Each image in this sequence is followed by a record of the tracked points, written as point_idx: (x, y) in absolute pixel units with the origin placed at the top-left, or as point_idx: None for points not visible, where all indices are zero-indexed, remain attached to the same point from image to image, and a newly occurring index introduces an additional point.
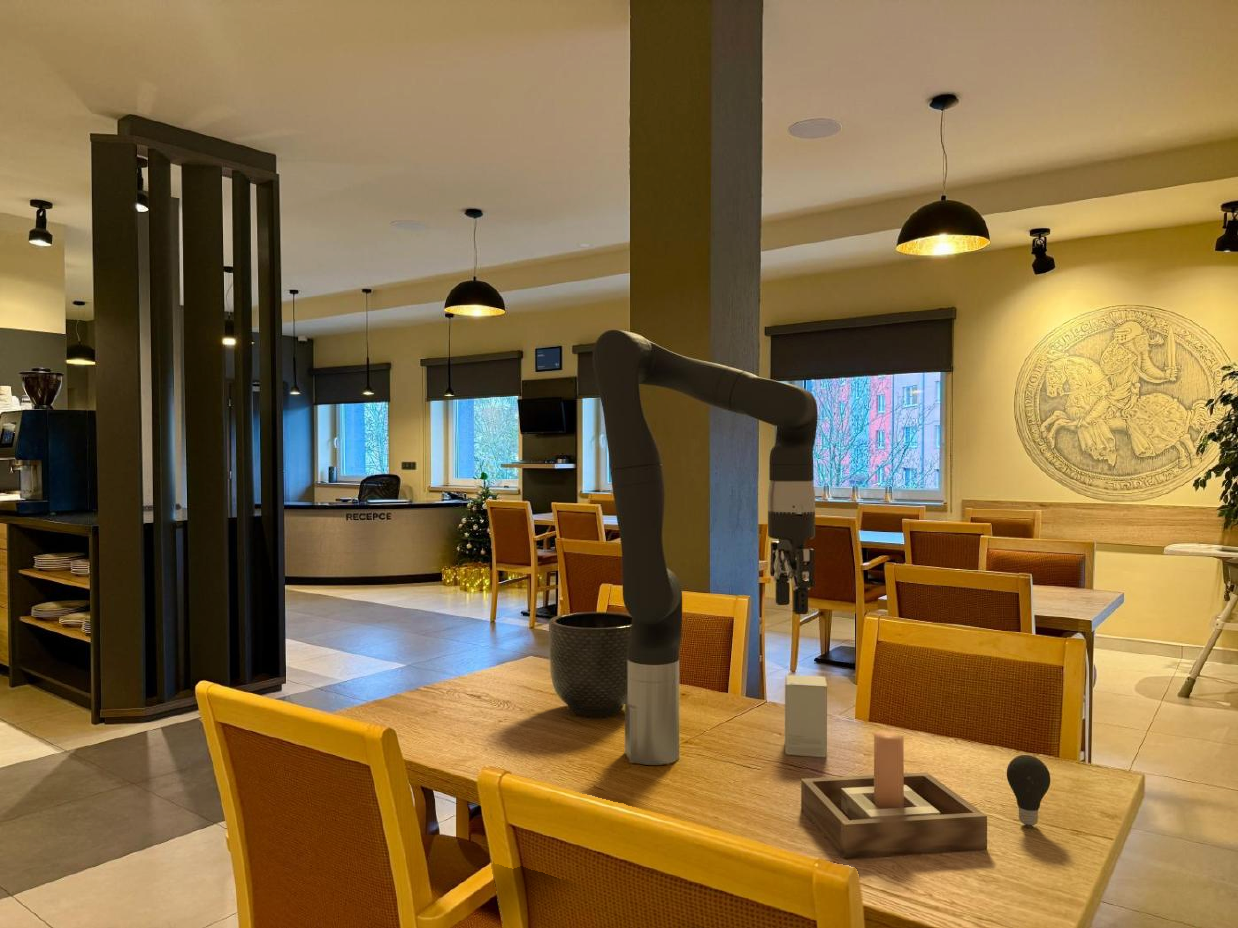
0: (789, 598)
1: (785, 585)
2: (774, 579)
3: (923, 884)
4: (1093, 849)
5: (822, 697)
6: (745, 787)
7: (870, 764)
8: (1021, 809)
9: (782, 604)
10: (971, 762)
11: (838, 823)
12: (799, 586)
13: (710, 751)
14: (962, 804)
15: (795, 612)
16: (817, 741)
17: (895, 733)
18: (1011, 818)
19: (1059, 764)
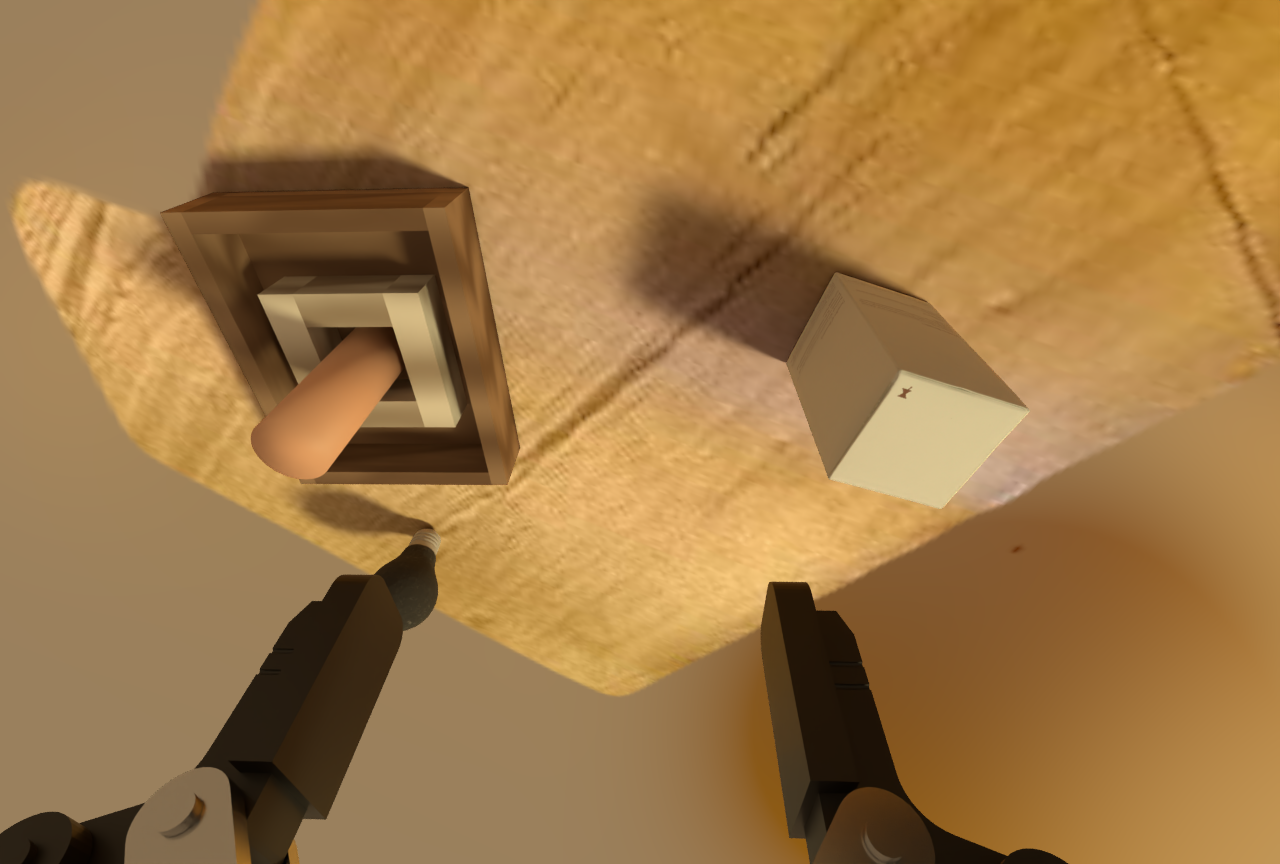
0: (767, 683)
1: (791, 788)
2: (870, 815)
3: (158, 300)
4: (363, 560)
5: (824, 445)
6: (616, 67)
7: (721, 431)
8: (414, 543)
9: (765, 605)
10: (696, 577)
11: (203, 208)
12: (1, 833)
13: (953, 22)
14: (346, 471)
15: (336, 581)
16: (802, 363)
17: (319, 472)
18: (457, 525)
19: (665, 659)
